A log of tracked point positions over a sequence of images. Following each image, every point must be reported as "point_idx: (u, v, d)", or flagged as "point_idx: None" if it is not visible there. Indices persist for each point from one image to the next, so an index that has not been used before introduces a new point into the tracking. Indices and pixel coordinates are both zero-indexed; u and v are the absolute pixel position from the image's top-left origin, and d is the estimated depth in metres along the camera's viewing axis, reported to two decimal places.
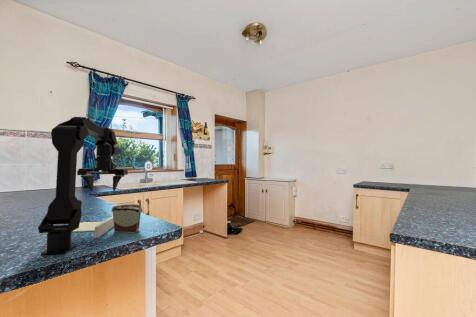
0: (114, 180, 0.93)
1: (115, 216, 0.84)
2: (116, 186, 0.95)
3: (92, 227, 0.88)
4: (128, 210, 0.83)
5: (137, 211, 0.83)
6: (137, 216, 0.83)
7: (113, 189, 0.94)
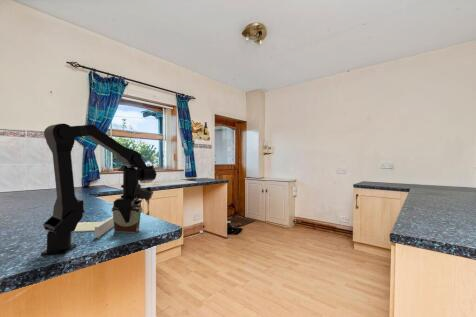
0: None
1: (115, 215, 0.84)
2: (127, 217, 0.82)
3: (92, 227, 0.88)
4: None
5: (137, 211, 0.83)
6: (137, 216, 0.83)
7: (125, 220, 0.83)
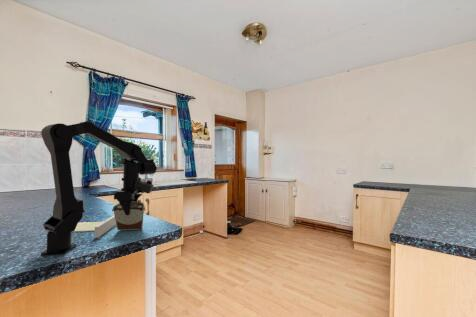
0: None
1: (117, 215, 0.83)
2: (128, 210, 0.83)
3: (92, 227, 0.88)
4: (131, 209, 0.84)
5: (141, 209, 0.84)
6: (141, 214, 0.85)
7: (125, 213, 0.83)
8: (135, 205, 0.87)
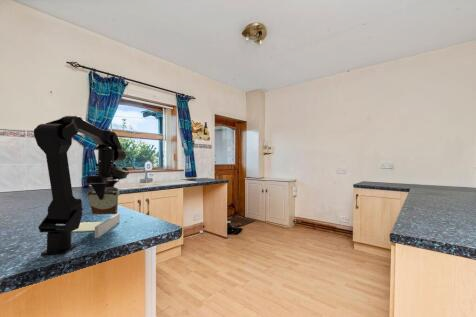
0: None
1: (91, 200, 0.85)
2: (101, 195, 0.84)
3: (92, 227, 0.88)
4: (105, 194, 0.86)
5: (115, 194, 0.86)
6: (115, 199, 0.86)
7: (99, 197, 0.85)
8: (110, 190, 0.88)
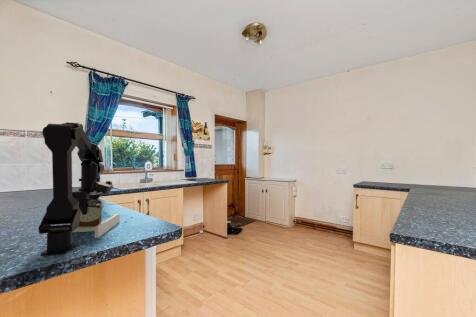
0: None
1: None
2: (84, 210, 0.86)
3: (92, 227, 0.88)
4: (88, 207, 0.87)
5: (98, 207, 0.87)
6: (99, 212, 0.87)
7: (82, 212, 0.86)
8: (94, 203, 0.90)
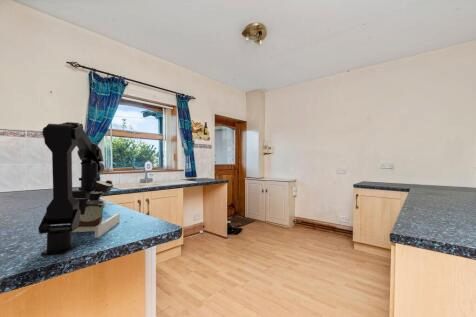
0: None
1: None
2: (82, 210, 0.84)
3: (92, 227, 0.88)
4: (90, 206, 0.88)
5: (100, 206, 0.89)
6: (100, 211, 0.89)
7: None
8: (95, 203, 0.91)
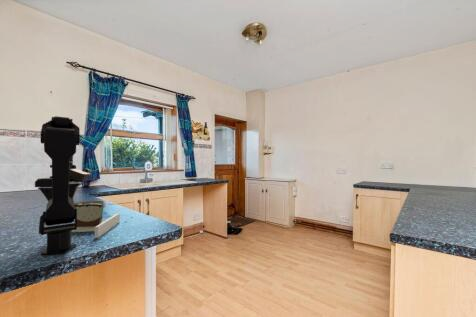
0: None
1: None
2: None
3: (92, 227, 0.88)
4: (90, 206, 0.88)
5: (100, 206, 0.89)
6: (100, 211, 0.89)
7: None
8: (96, 203, 0.91)
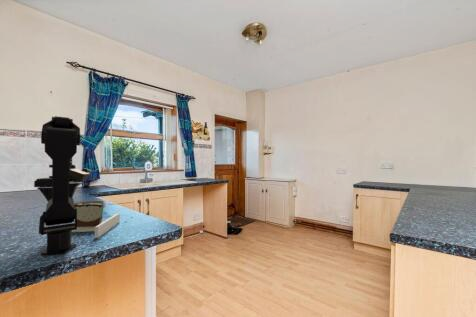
0: None
1: None
2: None
3: (92, 227, 0.88)
4: (90, 206, 0.88)
5: (100, 206, 0.89)
6: (100, 211, 0.89)
7: None
8: (96, 203, 0.91)
